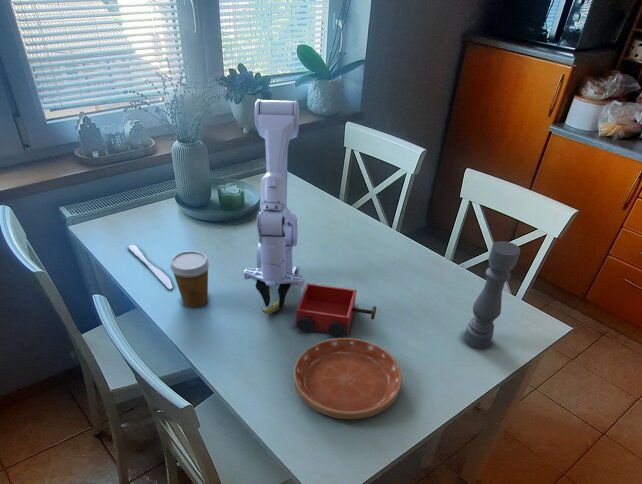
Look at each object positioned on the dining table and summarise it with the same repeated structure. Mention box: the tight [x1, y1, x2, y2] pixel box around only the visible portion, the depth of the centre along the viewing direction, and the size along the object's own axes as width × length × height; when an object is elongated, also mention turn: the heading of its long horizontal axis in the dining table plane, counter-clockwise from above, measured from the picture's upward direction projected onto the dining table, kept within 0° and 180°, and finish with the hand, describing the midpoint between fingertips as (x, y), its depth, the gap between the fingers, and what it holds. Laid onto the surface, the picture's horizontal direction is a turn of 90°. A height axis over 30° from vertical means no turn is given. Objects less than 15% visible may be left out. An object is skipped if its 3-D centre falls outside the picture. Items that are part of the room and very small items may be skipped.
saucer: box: [293, 337, 403, 420], centre depth 110 cm, size 23×23×4 cm
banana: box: [261, 299, 286, 315], centre depth 129 cm, size 8×2×4 cm, turn 138°
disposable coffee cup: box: [169, 250, 210, 308], centre depth 129 cm, size 10×10×12 cm
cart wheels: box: [296, 305, 377, 338], centre depth 127 cm, size 18×14×4 cm
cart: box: [295, 282, 357, 336], centre depth 127 cm, size 13×12×5 cm
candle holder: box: [463, 240, 521, 350], centre depth 115 cm, size 6×6×25 cm
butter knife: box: [128, 244, 174, 290], centre depth 144 cm, size 1×27×3 cm
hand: (274, 305), depth 130 cm, fingers closed on banana, 3 cm apart
